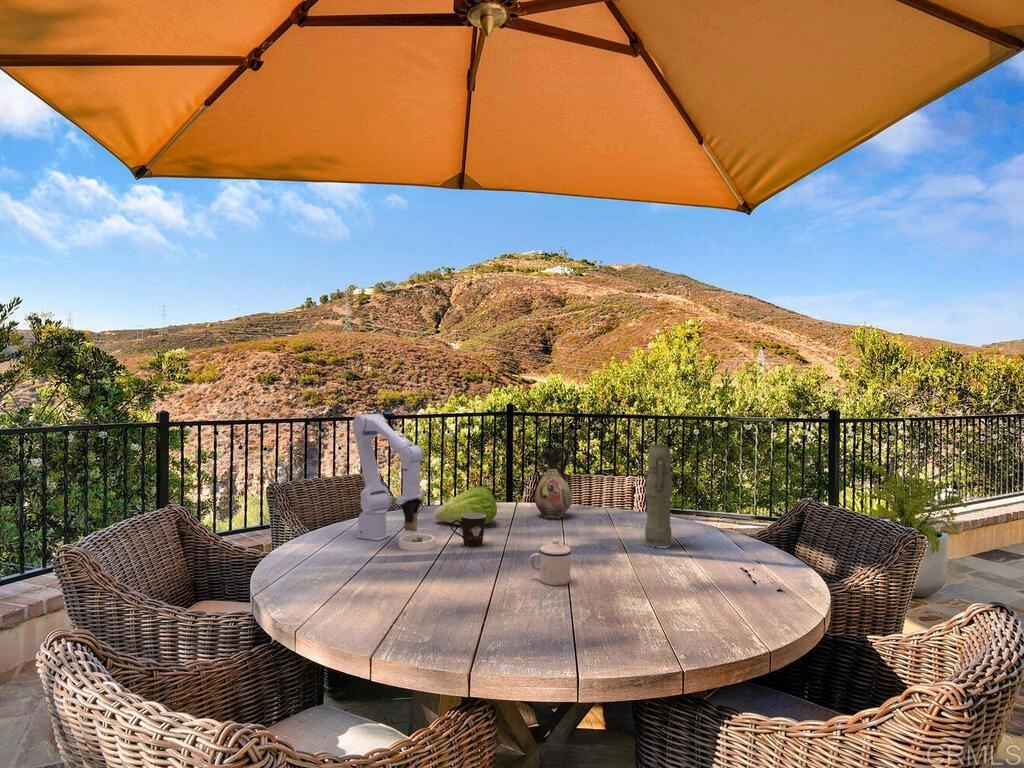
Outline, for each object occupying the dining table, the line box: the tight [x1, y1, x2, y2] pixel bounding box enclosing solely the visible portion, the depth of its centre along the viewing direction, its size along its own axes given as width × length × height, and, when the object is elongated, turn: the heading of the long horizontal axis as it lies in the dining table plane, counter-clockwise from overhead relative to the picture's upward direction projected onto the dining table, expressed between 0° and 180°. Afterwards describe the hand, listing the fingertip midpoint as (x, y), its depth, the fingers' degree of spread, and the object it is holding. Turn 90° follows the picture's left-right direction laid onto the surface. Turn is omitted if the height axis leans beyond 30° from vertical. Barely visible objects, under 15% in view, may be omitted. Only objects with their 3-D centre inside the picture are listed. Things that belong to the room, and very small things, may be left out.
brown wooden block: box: [403, 512, 418, 533], centre depth 198 cm, size 4×1×6 cm, turn 67°
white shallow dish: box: [398, 533, 436, 552], centre depth 200 cm, size 12×12×2 cm
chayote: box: [434, 486, 498, 526], centre depth 233 cm, size 15×24×16 cm
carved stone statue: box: [644, 444, 673, 546], centre depth 206 cm, size 9×12×35 cm
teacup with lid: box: [528, 538, 572, 586], centre depth 168 cm, size 12×9×12 cm
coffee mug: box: [450, 513, 486, 548], centre depth 203 cm, size 12×9×10 cm
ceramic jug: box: [534, 445, 573, 519], centre depth 247 cm, size 17×15×30 cm
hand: (410, 522), depth 198 cm, fingers closed on brown wooden block, 1 cm apart
